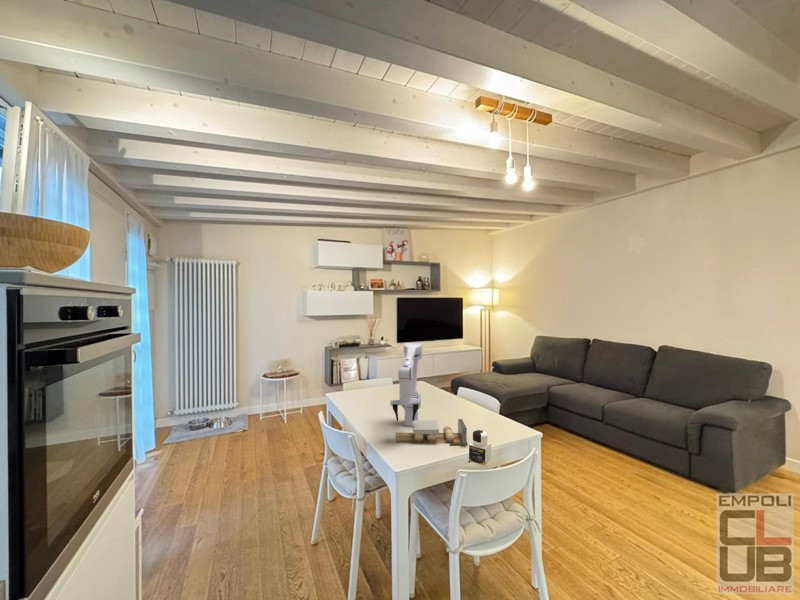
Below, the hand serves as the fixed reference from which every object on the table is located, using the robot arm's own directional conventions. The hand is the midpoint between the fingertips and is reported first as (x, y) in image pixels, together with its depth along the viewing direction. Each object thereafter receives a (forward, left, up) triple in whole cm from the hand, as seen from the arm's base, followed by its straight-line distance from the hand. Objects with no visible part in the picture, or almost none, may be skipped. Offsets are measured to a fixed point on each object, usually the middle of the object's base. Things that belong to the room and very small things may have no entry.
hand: (405, 420), depth 162 cm
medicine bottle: (+20, +31, -10) cm, 38 cm away
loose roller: (0, +21, -8) cm, 22 cm away
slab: (0, +10, -4) cm, 10 cm away
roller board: (0, +12, -9) cm, 15 cm away
